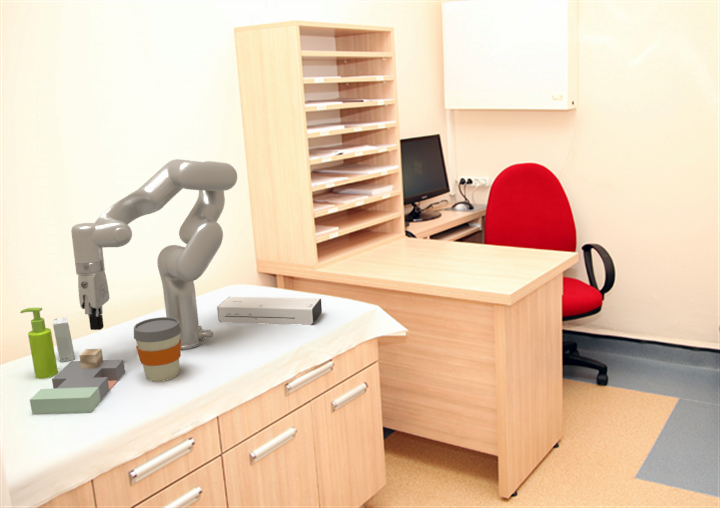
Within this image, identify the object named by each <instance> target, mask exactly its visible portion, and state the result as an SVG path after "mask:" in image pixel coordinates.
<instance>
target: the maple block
mask: <svg viewBox="0 0 720 508" xmlns="http://www.w3.org/2000/svg"><path fill="white" fill-rule="evenodd" d="M103 360H104V357H103V351H102V348H86V349H84V350H83V351H82V352H80V354H79V361H80V363H81V369H88V368H98V367H99V366H100V365H101V364H102V363H103Z"/></svg>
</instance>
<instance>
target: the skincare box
mask: <svg viewBox="0 0 720 508" xmlns="http://www.w3.org/2000/svg"><path fill="white" fill-rule="evenodd" d="M52 326H53V332H54V338H55V342H56V346H57V347H56V348H57V352H58V353H57V354H58V358H59V362H60V363H63V362H69V361H70V362H71V361H75V358H76V357H75V351H74V345H73V340H72V336H71V329H70V325H69V321H68V317H67V316H65V317H59V318H58V317H57V318H53V319H52Z"/></svg>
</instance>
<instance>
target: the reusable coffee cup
mask: <svg viewBox="0 0 720 508" xmlns="http://www.w3.org/2000/svg"><path fill="white" fill-rule="evenodd" d="M180 332H181V329H180V325H179V321H178V320H177V319H175V318H170V317H166V316H164V317H163V316H162V317H154V318H148V319H144V320H143V321H140V322H138V323H136V324H135V325H134V326H133V338H134V340H135V341H136V352H137V355H138V360H139V363H140V364H141V365H142V367H143V371H144V375H145V379H147V380H148V379H149V380H148V381H150V380H152V381H151V382H164V381H163V380H165V381H168V380H167V379H169V380H171V378H172V379H174V378H175V376H176V375H177V374H178V373H180V358H181V356H182V354H181V353H182V350H181V339H180ZM178 375H179V374H178ZM178 375H177V376H178ZM177 376H176V377H177ZM173 377H174V378H173Z"/></svg>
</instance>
